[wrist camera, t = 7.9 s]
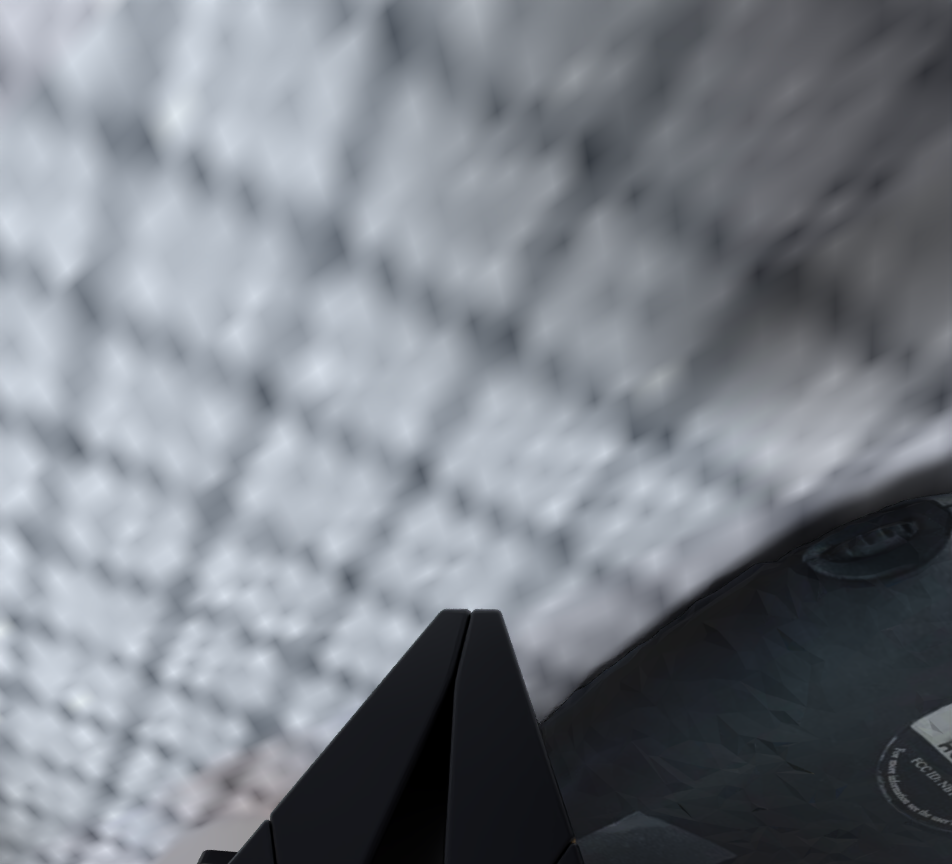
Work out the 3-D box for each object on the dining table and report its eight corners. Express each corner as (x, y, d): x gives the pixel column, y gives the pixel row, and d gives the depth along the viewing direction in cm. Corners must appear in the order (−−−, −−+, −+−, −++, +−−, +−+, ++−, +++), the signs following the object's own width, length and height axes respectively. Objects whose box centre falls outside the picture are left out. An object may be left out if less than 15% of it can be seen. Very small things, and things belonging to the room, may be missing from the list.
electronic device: (686, 838, 19) (1328, 685, 11) (684, 1070, 14) (1805, 1107, 6) (481, 657, 18) (1011, 343, 10) (409, 842, 13) (1290, 536, 5)
